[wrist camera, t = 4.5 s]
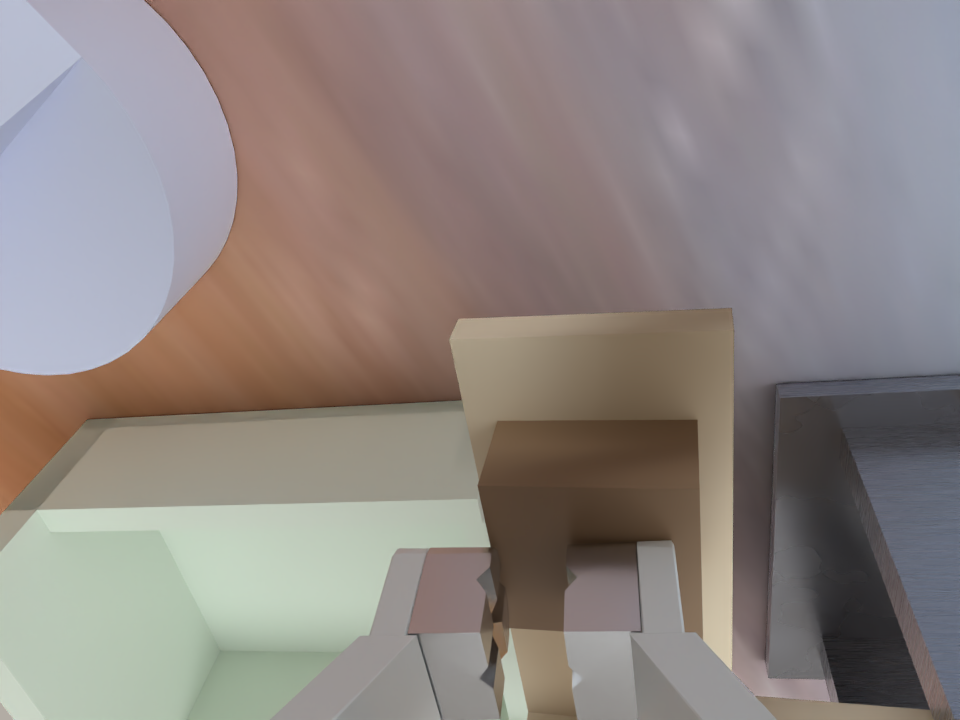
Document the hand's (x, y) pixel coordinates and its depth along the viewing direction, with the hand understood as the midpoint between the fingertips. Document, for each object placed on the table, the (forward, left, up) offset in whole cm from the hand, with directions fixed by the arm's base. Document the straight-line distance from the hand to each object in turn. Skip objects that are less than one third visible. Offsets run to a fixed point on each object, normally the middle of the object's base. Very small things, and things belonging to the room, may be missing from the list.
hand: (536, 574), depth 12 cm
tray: (+9, +9, -9) cm, 16 cm away
